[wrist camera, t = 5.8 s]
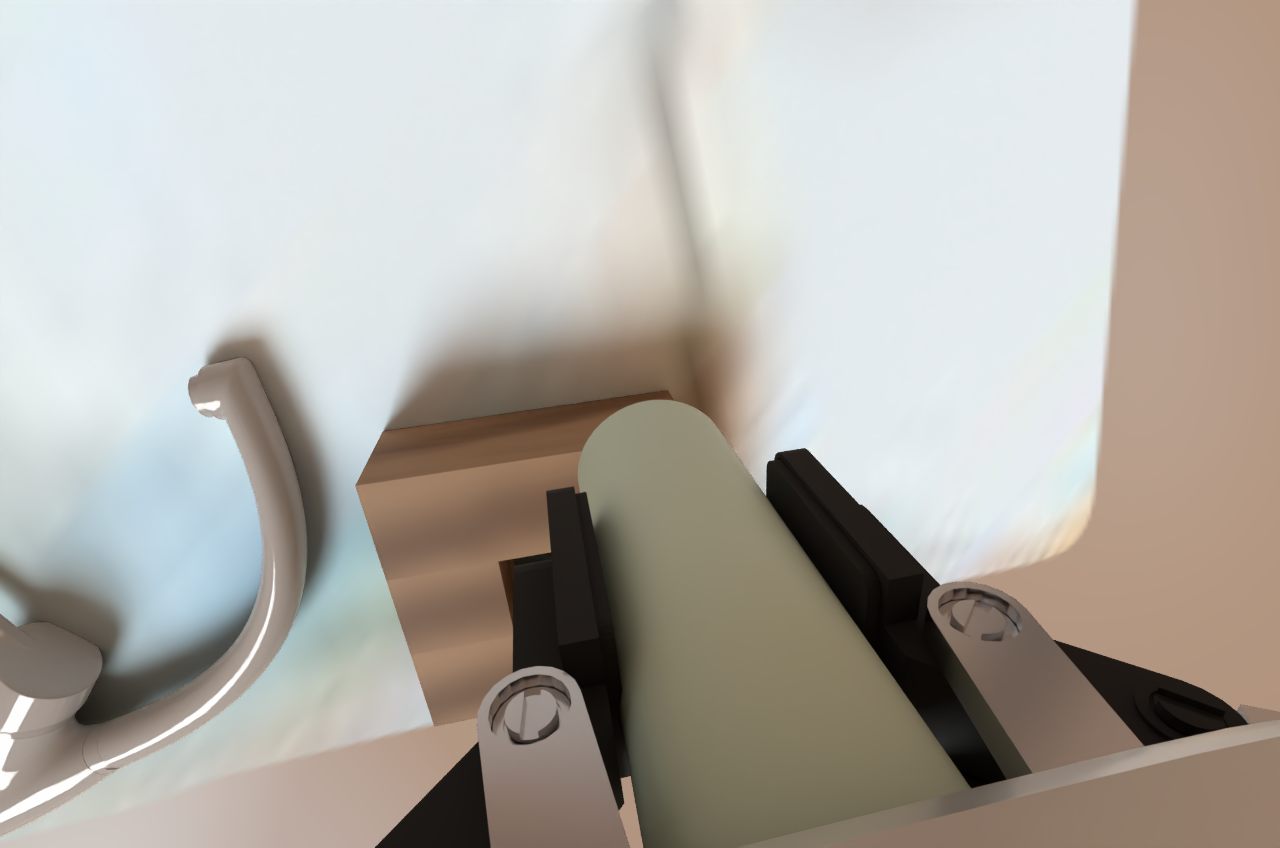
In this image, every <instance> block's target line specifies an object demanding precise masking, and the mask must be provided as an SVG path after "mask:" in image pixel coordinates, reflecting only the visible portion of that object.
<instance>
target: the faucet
mask: <svg viewBox="0 0 1280 848" xmlns="http://www.w3.org/2000/svg"><path fill="white" fill-rule="evenodd" d="M188 390H189V396H190V399H191V402H192V404H193V405H194V407H195V408H196V409H197V410H198V411H199V412H200V413H201V414H202V415H204V416H206V417H213V416H215V417H216V418H219V419H222V420H226V422H227V424H228V426H229V428H230V431H231V433H232V435H233V438H234V440H235V442H236V444H237V447H238V449H239V452H240V454H241V457H242V460H243V462H244V465H245V468H246V471H247V473H248V477H249V480H250V483H251V486H252V490H253V493H254V497H255V501H256V505H257V510H258V515H259V521H260V527H261V535H262V573H261V581H260V586H259V591H258V594H257V598H256V601H255V604H254V607H253V610H252V612H251V614H250V617H249V619H248V621H247V623H246V625H245V626H244V628H243V630H242V631H241V633H240V634H239V636H238V637H237V639H236V640H235V641H234V643H233V644H232V645H231V646H230V648H229V649H228V650H227V651H226V652H225V653H224V654H223V655H222V656H221V657H220V658H219V659H218V660H217V661H216V662H215V663H214V664H213V665H212V666H210V667H209V668H208V669H207V670H205V671H204V672H203V673H202V674H200V675H199V676H198V677H196V678H195V679H193V680H192V681H190V682H189V683H187V684H186V685H184V686H182V687H181V688H179V689H177V690H176V691H174V692H172V693H170V694H168V695H167V696H165V697H163V698H161V699H159V700H157V701H155V702H153V703H151V704H148V705H146V706H144V707H142V708H140V709H137V710H135V711H132V712H130V713H128V714H125V715H122V716H120V717H117V718H114V719H112V720H110V721H107V722H103V723H97V724H91V725H83V724H80V723H79V722H77V720H76V719H75V714H76V712H77V710H79V709H80V708H81V707H82V706H83V704H84V703H85V702H86V700H87V699H88V697H89V695H90V693H91V691H92V689H93V686H94V684H95V682H96V680H97V678H98V676H99V674H100V672H101V669H102V655H101V652H100V650H99V648H98V647H97V646H96V645H94V644H92V643H90V642H88V641H87V640H85V639H83V638H81V637H79V636H77V635H75V634H73V633H71V632H69V631H67V630H65V629H62V628H60V627H58V626H56V625H54V624H51V623H49V622H36V623H30V624H26V625H22V626H19V627H16V626H15V625H14V624H12V623H11V622H10V621H9V620H7V619H6V618H5V617H4V616H2V615H1V614H0V838H1V837H3V836H5V835H7V834H9V833H11V832H13V831H15V830H18V829H20V828H22V827H23V826H25V825H27V824H29V823H31V822H33V821H35V820H37V819H39V818H41V817H43V816H45V815H46V814H48V813H50V812H52V811H53V810H55V809H57V808H59V807H61V806H62V805H64V804H66V803H67V802H69V801H71V800H72V799H74V798H76V797H77V796H79V795H80V794H82V793H84V792H85V791H87V790H88V789H90V788H92V787H93V786H95V785H96V784H98V783H99V782H101V781H102V780H104V779H105V778H106V777H108V776H109V775H111V774H112V773H114V772H115V771H116V770H118V769H120V768H122V767H124V766H127V765H129V764H132V763H134V762H136V761H138V760H141V759H143V758H145V757H147V756H149V755H151V754H153V753H155V752H157V751H159V750H161V749H163V748H165V747H167V746H169V745H171V744H173V743H174V742H176V741H178V740H180V739H182V738H183V737H185V736H187V735H188V734H190V733H192V732H193V731H195V730H197V729H198V728H200V727H201V726H203V725H204V724H206V723H207V722H209V721H210V720H212V719H213V718H214V717H216V716H217V715H218V714H220V713H221V712H222V711H224V710H225V709H226V708H227V707H229V706H230V705H231V704H232V703H233V702H235V701H236V700H237V699H238V698H239V697H240V696H241V695H242V694H244V693H245V692H246V691H247V690H248V689H249V688H250V687H251V686H252V685H253V684H254V682H255V681H256V680H257V679H258V678H259V677H260V676H261V675H262V673H263V672H264V671H265V670H266V669H267V667H268V666H269V665H270V663H271V662H272V661H273V659H274V658H275V656H276V655H277V653H278V652H279V650H280V649H281V647H282V645H283V643H284V642H285V640H286V638H287V636H288V634H289V632H290V630H291V628H292V626H293V623H294V621H295V618H296V615H297V612H298V609H299V606H300V603H301V599H302V595H303V590H304V585H305V579H306V570H307V529H306V521H305V513H304V507H303V502H302V497H301V492H300V488H299V484H298V480H297V476H296V472H295V469H294V466H293V462H292V459H291V456H290V453H289V450H288V447H287V444H286V441H285V439H284V436H283V434H282V431H281V428H280V426H279V423H278V421H277V419H276V416H275V414H274V412H273V409H272V407H271V405H270V402H269V400H268V398H267V396H266V393H265V391H264V389H263V386H262V384H261V382H260V380H259V377H258V375H257V373H256V371H255V368H254V366H253V364H252V363H251V362H250V361H249V360H248V359H246V358H236V359H232V360H227V361H223V362H219V363H214V364H210V365H206V366H204V367H202V368H201V369H200V371H199V373H198V374H197V375H195V376H193V377H191V378H190V379H189V384H188Z"/></svg>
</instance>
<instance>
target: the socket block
mask: <svg viewBox="0 0 1280 848" xmlns="http://www.w3.org/2000/svg"><path fill="white" fill-rule="evenodd" d="M648 400H672V401H674V400H673V399H672V397H671V395H670V394H669V392H668V390H667V391H660V392H653V393H646V394H639V395H632V396H626V397H619V398H612V399H605V400H598V401H591V402H584V403H577V404H570V405H563V406H556V407H549V408H542V409H535V410H529V411H522V412H515V413H508V414H501V415H494V416H487V417H480V418H473V419H466V420H459V421H452V422H445V423H438V424H431V425H425V426H418V427H411V428H404V429H397V430H390V431H383V432H382V434H381V436H380V438H379V440H378V442H377V444H376V446H375V448H374V450H373V452H372V454H371V456H370V458H369V460H368V462H367V464H366V466H365V468H364V470H363V472H362V474H361V476H360V478H359V480H358V482H357V484H356V489H357V492H358V495H359V498H360V502H361V505H362V508H363V511H364V514H365V517H366V520H367V523H368V526H369V529H370V532H371V535H372V538H373V541H374V544H375V547H376V550H377V553H378V556H379V559H380V562H381V565H382V568H383V571H384V574H385V578H386V581H387V584H388V587H389V590H390V593H391V596H392V599H393V602H394V605H395V608H396V611H397V614H398V617H399V620H400V623H401V626H402V629H403V632H404V635H405V638H406V641H407V644H408V647H409V650H410V654H411V657H412V660H413V663H414V666H415V669H416V672H417V675H418V678H419V681H420V684H421V687H422V690H423V693H424V696H425V699H426V702H427V705H428V708H429V711H430V714H431V717H432V720H433V723H434V726H439V725H444V724H449V723H454V722H459V721H464V720H469V719H474V718H477V717H478V710H479V708H480V706H481V703H482V701H483V699H484V697H485V696H486V695H487V693H488V692H489V691H490V690H491V688H492V687H493V686H494V685H495V684H497V683H498V682H499V681H501V680H502V679H503V678H505V677H506V676H507V675H510V674H512V673H513V576H514V566H516V564H515V558H521V557H527V556H533V555H538V554H544V553H550V552H551V546H550V534H549V522H548V510H547V497H546V491H548V490H554V489H560V488H566V487H572V486H574V489H575V494H576V493H580V490H579V484H578V464H579V460H580V456H581V453H582V450H583V448H584V446H585V444H586V442H587V440H588V438H589V437H590V436H591V434H592V433H593V432H594V430H595V429H596V428H597V427H598V426H599V425H600V424H601V423H602V422H603V421H604V420H606V419H607V418H608V417H609V416H611V415H612V414H614V413H615V412H617V411H619V410H621V409H623V408H625V407H627V406H630V405H632V404H635V403H639V402H643V401H648Z"/></svg>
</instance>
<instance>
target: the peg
mask: <svg viewBox="0 0 1280 848" xmlns="http://www.w3.org/2000/svg"><path fill="white" fill-rule="evenodd" d="M578 484H579V490H580V493H582V492H586V493H587V498H588V503H589V508H590V513H591V518H592V523H593V528H594V533H595V538H596V543H597V548H598V553H599V558H600V563H601V568H602V574H603V579H604V584H605V589H606V594H607V599H608V604H609V609H610V614H611V619H612V624H613V630H614V636H615V642H616V649H617V656H618V664H619V671H620V679H621V686H622V695H621V702H620V719H621V724H622V730H623V736H624V741H625V747H626V752H627V758H628V764H629V769H630V775H631V780H632V786H633V792H634V797H635V803H636V808H637V814H638V820H639V825H640V830H641V836H642V842H643V848H737V847H741V846H745V845H749V844H753V843H757V842H761V841H765V840H769V839H772V838H776V837H780V836H784V835H788V834H792V833H796V832H800V831H804V830H808V829H812V828H816V827H820V826H824V825H828V824H832V823H836V822H840V821H844V820H848V819H852V818H856V817H860V816H864V815H868V814H872V813H875V812H879V811H883V810H887V809H891V808H895V807H899V806H903V805H907V804H911V803H915V802H919V801H923V800H928V799H932V798H936V797H940V796H944V795H948V794H952V793H956V792H960V791H964V790H968V789H971V787H970V786H969V784H968V783H967V782H966V780H965V779H964V777H963V776H962V775H961V773H960V772H959V770H958V769H957V767H956V766H955V765H954V763H953V762H952V760H951V759H950V757H949V756H948V755H947V753H946V752H945V750H944V749H943V747H942V746H941V745H940V743H939V742H938V740H937V739H936V738H935V736H934V735H933V733H932V732H931V730H930V729H929V728H928V726H927V725H926V723H925V722H924V720H923V719H922V718H921V716H920V715H919V713H918V712H917V711H916V709H915V708H914V706H913V705H912V703H911V702H910V701H909V699H908V698H907V696H906V695H905V693H904V692H903V691H902V689H901V688H900V686H899V685H898V684H897V682H896V681H895V679H894V678H893V676H892V675H891V674H890V672H889V671H888V669H887V668H886V666H885V665H884V664H883V662H882V661H881V659H880V658H879V656H878V655H877V654H876V652H875V651H874V649H873V648H872V647H871V645H870V644H869V642H868V641H867V639H866V638H865V637H864V635H863V634H862V632H861V631H860V629H859V628H858V627H857V625H856V624H855V622H854V621H853V620H852V618H851V617H850V615H849V614H848V612H847V611H846V610H845V608H844V607H843V605H842V604H841V602H840V601H839V600H838V598H837V597H836V595H835V594H834V592H833V591H832V590H831V588H830V587H829V585H828V584H827V583H826V581H825V580H824V578H823V577H822V575H821V574H820V573H819V571H818V570H817V568H816V567H815V565H814V564H813V563H812V561H811V560H810V558H809V557H808V556H807V554H806V553H805V551H804V550H803V548H802V547H801V546H800V544H799V543H798V541H797V540H796V538H795V537H794V536H793V534H792V533H791V531H790V530H789V528H788V527H787V526H786V524H785V523H784V521H783V520H782V519H781V517H780V516H779V514H778V513H777V511H776V510H775V509H774V507H773V506H772V504H771V503H770V501H769V500H768V499H767V497H766V496H765V494H764V493H763V492H762V490H761V489H760V487H759V486H758V484H757V483H756V482H755V480H754V479H753V477H752V476H751V474H750V473H749V472H748V470H747V469H746V467H745V466H744V464H743V463H742V462H741V460H740V459H739V457H738V456H737V455H736V453H735V452H734V450H733V449H732V447H731V446H730V445H729V443H728V442H727V440H726V439H725V437H724V436H723V435H722V433H721V432H720V430H719V429H718V428H717V426H716V425H715V424H714V423H713V421H712V420H711V419H710V418H709V417H708V416H706V415H705V414H704V413H703V412H701V411H700V410H698V409H696V408H694V407H692V406H690V405H688V404H685V403H681V402H678V401H672V400H648V401H643V402H639V403H635V404H632V405H630V406H627V407H625V408H623V409H621V410H619V411H617V412H615V413H614V414H612V415H611V416H609V417H608V418H607V419H606V420H604V421H603V422H602V423H601V424H600V425H599V426H598V427H597V428H596V429H595V430H594V432H593V433H592V434H591V436H590V437H589V438H588V440H587V442H586V444H585V446H584V448H583V450H582V453H581V456H580V460H579V464H578Z"/></svg>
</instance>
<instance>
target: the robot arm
mask: <svg viewBox="0 0 1280 848" xmlns="http://www.w3.org/2000/svg"><path fill="white" fill-rule="evenodd" d="M546 497H547V510H548V522H549V534H550V546H551V559H549V560H544V561H538V562H533V563H527V564H521V565H516V566H514V576H513V673H512V674H510V675H507V676H506V677H505V678H503V679H502V680H501V681H499V682H498V683H497V684H495V685H494V686H493V687H492V688H491V690H490V691H489V692H488V693H487V695H486V696H485V697H484V699H483V701H482V703H481V706H480V708H479V710H478V717H477V731H478V740H479V741H478V742H477V743H476V744H475V746H474V747H473V748H472V749H471V750H470V751H469V752H468V753H467V754H466V755H465V756H464V757H463V758H462V759H461V760H460V761H459V762H458V763H457V764H456V765H455V766H454V767H453V768H452V769H451V770H450V771H449V772H448V773H447V774H446V775H445V776H444V777H443V778H442V779H441V780H440V781H439V782H438V783H437V784H436V786H435V787H434V788H433V789H432V790H431V791H430V792H429V793H428V794H427V795H426V796H425V797H424V798H423V799H422V800H421V801H420V802H419V803H418V804H417V805H416V806H415V807H414V808H413V809H412V810H411V811H410V812H409V813H408V814H407V815H406V816H405V817H404V818H403V819H402V820H401V821H400V822H399V823H398V824H397V826H396V827H395V828H394V829H393V830H392V831H391V832H390V833H389V834H388V835H387V836H386V837H385V838H384V839H383V840H382V841H381V842H380V843H379V844H378V845H377V846H376V847H375V848H630V845H629V842H628V840H627V836H626V833H625V830H624V826H623V823H622V820H621V817H620V814H619V810H620V808H621V807H622V805H623V804H624V798H623V792H622V786H621V778H624V777H628V776H631V775H630V769H629V764H628V758H627V752H626V747H625V741H624V736H623V730H622V724H621V719H620V702H621V695H622V686H621V679H620V671H619V664H618V656H617V649H616V642H615V636H614V630H613V624H612V619H611V614H610V609H609V604H608V599H607V594H606V589H605V584H604V579H603V574H602V568H601V563H600V558H599V553H598V548H597V543H596V538H595V533H594V528H593V523H592V518H591V513H590V508H589V503H588V498H587V493H586V492H582V493H576V494H575V489H574V486H572V487H566V488H560V489H554V490H548V491H546ZM766 497H767V499H768V500H769V501H770V503H771V504H772V506H773V507H774V509H775V510H776V511H777V513H778V514H779V516H780V517H781V519H782V520H783V521H784V523H785V524H786V526H787V527H788V528H789V530H790V531H791V533H792V534H793V536H794V537H795V538H796V540H797V541H798V543H799V544H800V546H801V547H802V548H803V550H804V551H805V553H806V554H807V556H808V557H809V558H810V560H811V561H812V563H813V564H814V565H815V567H816V568H817V570H818V571H819V573H820V574H821V575H822V577H823V578H824V580H825V581H826V583H827V584H828V585H829V587H830V588H831V590H832V591H833V592H834V594H835V595H836V597H837V598H838V600H839V601H840V602H841V604H842V605H843V607H844V608H845V610H846V611H847V612H848V614H849V615H850V617H851V618H852V620H853V621H854V622H855V624H856V625H857V627H858V628H859V629H860V631H861V632H862V634H863V635H864V637H865V638H866V639H867V641H868V642H869V644H870V645H871V647H872V648H873V649H874V651H875V652H876V654H877V655H878V656H879V658H880V659H881V661H882V662H883V664H884V665H885V666H886V668H887V669H888V671H889V672H890V674H891V675H892V676H893V678H894V679H895V681H896V682H897V684H898V685H899V686H900V688H901V689H902V691H903V692H904V693H905V695H906V696H907V698H908V699H909V701H910V702H911V703H912V705H913V706H914V708H915V709H916V711H917V712H918V713H919V715H920V716H921V718H922V719H923V720H924V722H925V723H926V725H927V726H928V728H929V729H930V730H931V732H932V733H933V735H934V736H935V738H936V739H937V740H938V742H939V743H940V745H941V746H942V747H943V749H944V750H945V752H946V753H947V755H948V756H949V757H950V759H951V760H952V762H953V763H954V765H955V766H956V767H957V769H958V770H959V772H960V773H961V775H962V776H963V777H964V779H965V780H966V782H967V783H968V784H969V786H970V787H971V789H968V790H964V791H960V792H956V793H952V794H948V795H944V796H940V797H936V798H932V799H928V800H923V801H919V802H915V803H911V804H907V805H903V806H899V807H895V808H891V809H887V810H883V811H879V812H875V813H872V814H868V815H864V816H860V817H856V818H852V819H848V820H844V821H840V822H836V823H832V824H828V825H824V826H820V827H816V828H812V829H808V830H804V831H800V832H796V833H792V834H788V835H784V836H780V837H776V838H772V839H769V840H765V841H761V842H757V843H753V844H749V845H745V846H741V847H737V848H1280V712H1277V711H1272V710H1267V709H1262V708H1256V707H1251V706H1246V705H1241V704H1240V706H1239V708H1238V710H1237V711H1235V710H1234V709H1233V708H1232V707H1230V706H1229V705H1228V704H1227V703H1225V702H1224V701H1223V700H1221V699H1219V698H1218V697H1216V696H1214V695H1212V694H1211V693H1209V692H1207V691H1205V690H1203V689H1202V688H1199V687H1196V686H1194V685H1192V684H1189V683H1187V682H1184V681H1182V680H1178V679H1175V678H1172V677H1169V676H1166V675H1163V674H1160V673H1156V672H1153V671H1150V670H1147V669H1144V668H1141V667H1138V666H1134V665H1131V664H1128V663H1125V662H1122V661H1119V660H1115V659H1112V658H1109V657H1106V656H1103V655H1100V654H1097V653H1094V652H1090V651H1087V650H1084V649H1081V648H1078V647H1074V646H1071V645H1068V644H1065V643H1062V642H1058V641H1056V640H1053V639H1052V638H1051V637H1050V636H1049V635H1048V633H1047V632H1046V631H1045V630H1044V629H1043V628H1042V626H1041V625H1040V624H1039V623H1038V622H1037V621H1036V620H1035V618H1034V617H1033V616H1032V615H1031V614H1030V613H1029V611H1028V610H1027V609H1026V608H1025V607H1024V606H1023V605H1021V604H1020V603H1019V602H1018V601H1017V600H1016V599H1014V598H1013V597H1011V596H1009V595H1008V594H1006V593H1004V592H1003V591H1000V590H998V589H995V588H992V587H990V586H987V585H983V584H978V583H973V582H951V583H946V584H942V585H940V584H939V583H938V582H937V581H936V580H935V579H934V578H933V577H932V576H931V575H930V574H929V573H928V572H927V571H926V570H925V569H924V568H923V567H922V566H921V565H920V563H919V562H918V561H917V560H916V559H915V558H914V557H913V556H912V555H911V554H910V553H909V552H908V551H907V550H906V549H905V548H904V547H903V546H902V545H901V544H900V543H899V542H898V540H897V539H896V538H895V537H894V536H893V535H892V534H891V533H890V532H889V531H888V530H887V529H886V528H885V527H884V526H883V525H882V524H881V523H880V522H879V521H878V520H877V519H876V517H875V516H874V515H873V514H872V513H871V512H870V511H869V510H868V509H867V508H865V507H864V506H863V505H859V504H858V503H857V502H856V501H855V499H854V498H853V497H852V496H851V495H850V494H849V493H848V492H847V491H846V490H845V489H844V488H843V487H842V486H841V485H840V484H839V483H838V482H837V480H836V479H835V478H834V477H833V476H832V475H831V474H830V473H829V472H828V471H827V470H826V469H825V468H824V467H823V466H822V465H821V464H820V462H819V461H818V460H817V459H816V458H815V457H814V456H813V455H812V454H811V453H810V452H809V451H808V450H807V449H805V448H802V449H796V450H790V451H784V452H778V453H777V454H776V455H775V459H774V460H773V461H769V462H768V464H767V478H766Z"/></svg>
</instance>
